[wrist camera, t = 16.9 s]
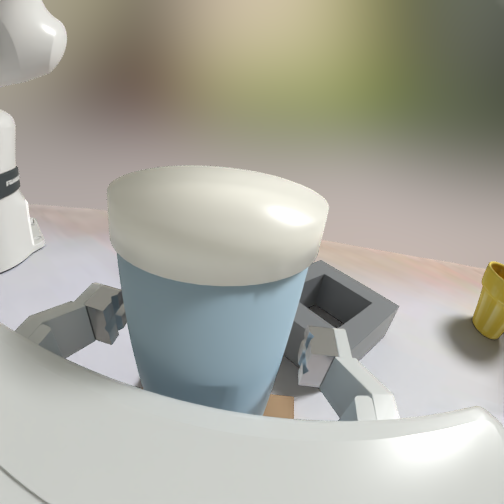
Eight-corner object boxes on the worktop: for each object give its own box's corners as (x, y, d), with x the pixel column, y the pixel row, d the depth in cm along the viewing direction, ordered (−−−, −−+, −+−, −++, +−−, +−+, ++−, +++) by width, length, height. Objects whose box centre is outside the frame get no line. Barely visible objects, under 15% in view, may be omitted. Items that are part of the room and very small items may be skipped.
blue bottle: (148, 434, 15) (92, 173, 7) (216, 404, 18) (240, 164, 11) (194, 500, 11) (151, 252, 3) (266, 459, 14) (368, 211, 7)
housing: (243, 319, 30) (248, 285, 28) (313, 288, 37) (321, 260, 35) (325, 389, 22) (342, 357, 20) (384, 335, 29) (399, 306, 27)
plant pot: (502, 357, 24) (536, 302, 20) (457, 323, 32) (485, 268, 27) (508, 330, 30) (534, 283, 25) (470, 303, 37) (492, 256, 33)
